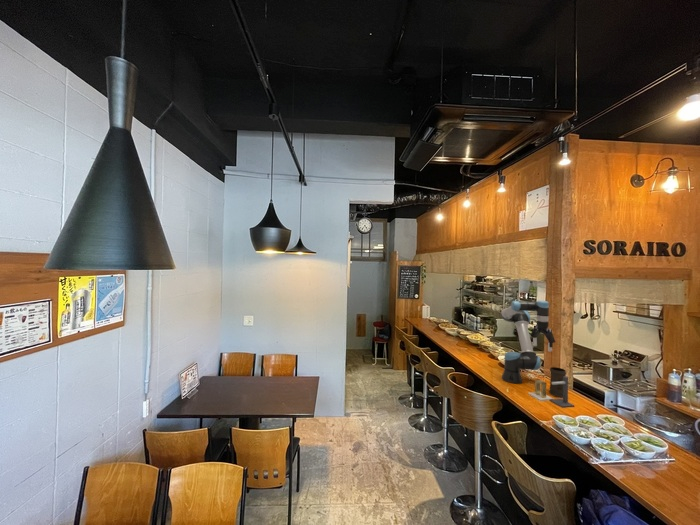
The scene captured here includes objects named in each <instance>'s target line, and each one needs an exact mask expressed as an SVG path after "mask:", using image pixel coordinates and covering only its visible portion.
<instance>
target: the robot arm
mask: <svg viewBox="0 0 700 525" xmlns="http://www.w3.org/2000/svg"><path fill="white" fill-rule="evenodd" d="M549 304H550V302H549V301H546V300H537V301H522V300H521V301H520V300H519V301H518V300H513V301H511V303H510V306H508V307H506V308H503V309H502V310H501V311H500V318H501V319H502V320H503V321H505V322H509V323H513V325H514V326H516V331H517V335H518V341H519V344H520V350H521V352H517V351H507V352H505V354H504V357H503V358H504V368H503V369H504V370H503V372H502V376H501V379H502V380H503V381H504V382H507V383H510V384H515V385H516V384H519V385H520V384H522V383H523V377H522V374H521V370H530V371H537V370H538V371H539V370H540V368H541V366H542V364H541V362H542V360H541V358H540V356H539V355H537V352H535V351H534V349H533V347H538V336H539V335H540V334H543V335H544V336H545V337H546V340H547V341H548V343H547V352H553V347H554V346H553V345H554V344H556V339H555V337H554V335H553V331H552V330H553V329H552V328H548V327H549V324H550V323H549V321H550V320H549V314H550V313H549V312H550V309H549V308H550V305H549ZM529 312H536V325H533V329H532V331H531V333H530V332H529V327H528V325H529V323H530V322H531V315H530V313H529ZM531 338H532V341H531Z"/></svg>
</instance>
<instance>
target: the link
mask: <svg viewBox="0 0 700 525" xmlns="http://www.w3.org/2000/svg"><path fill="white" fill-rule="evenodd" d="M534 392H535V394H536V395H538V394H540V392H541V397H542V398H546V395H547V382H546V381H544V380H542V379H539V378H535V379H534Z"/></svg>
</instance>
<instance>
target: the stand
mask: <svg viewBox="0 0 700 525" xmlns="http://www.w3.org/2000/svg"><path fill="white" fill-rule="evenodd" d="M551 383H552V385H557V384H563V398H553V399H550V401H549V402H551V403H552V404H554V405H557V406H558V407H560V408H562V409H563V408H574V407H575V404H573V403H571V402H569V377H568V376H567V375H566V376H563V381H560V382H551Z"/></svg>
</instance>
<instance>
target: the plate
mask: <svg viewBox="0 0 700 525" xmlns="http://www.w3.org/2000/svg"><path fill="white" fill-rule="evenodd" d="M528 394H529V395H528ZM527 395H528V396H530V395H531V397H532V398H534V399H535V398H536V400H537V399H538V400H537V401H538V402H546V401H547V402H551V401H550V399H554V398H553V397H551V396H549V395H547V394H546V398H542V397H541V391H540V394H538V395H536V394H535V391H534V392H528V393H527Z"/></svg>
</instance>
